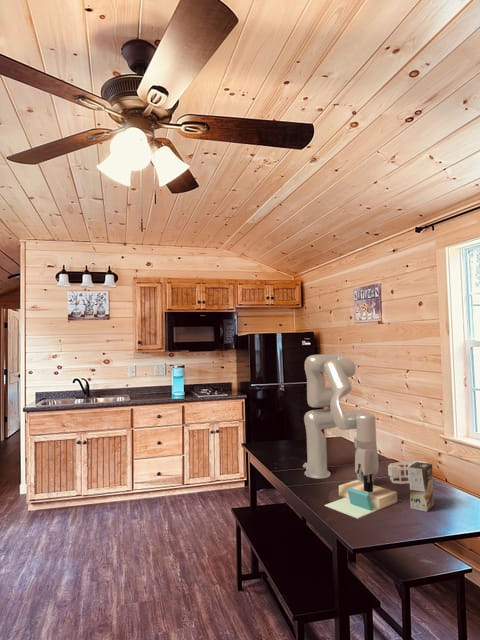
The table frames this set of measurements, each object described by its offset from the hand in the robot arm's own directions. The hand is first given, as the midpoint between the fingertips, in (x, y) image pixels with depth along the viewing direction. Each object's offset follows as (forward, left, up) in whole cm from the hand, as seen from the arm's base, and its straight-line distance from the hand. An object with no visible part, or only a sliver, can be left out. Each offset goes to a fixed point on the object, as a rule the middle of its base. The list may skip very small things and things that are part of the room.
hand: (368, 491), depth 170 cm
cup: (-15, +19, -5) cm, 25 cm away
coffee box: (+15, +14, -5) cm, 21 cm away
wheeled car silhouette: (-7, +40, -6) cm, 41 cm away
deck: (-4, +5, -5) cm, 8 cm away
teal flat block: (0, -5, -1) cm, 5 cm away
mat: (-2, -9, -5) cm, 10 cm away
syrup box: (-34, +42, -5) cm, 54 cm away
